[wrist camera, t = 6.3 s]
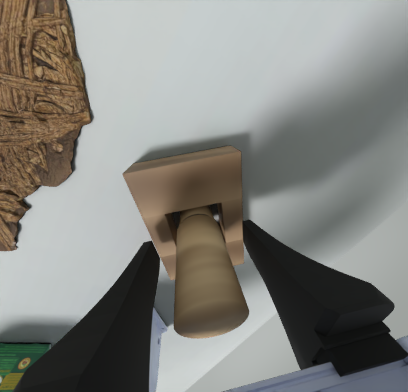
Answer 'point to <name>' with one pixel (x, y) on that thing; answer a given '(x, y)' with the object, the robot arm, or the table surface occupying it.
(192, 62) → the table surface
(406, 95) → the table surface
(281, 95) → the table surface
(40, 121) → the wooden fragment
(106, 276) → the table surface
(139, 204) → the board
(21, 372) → the coffee box
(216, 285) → the peg
